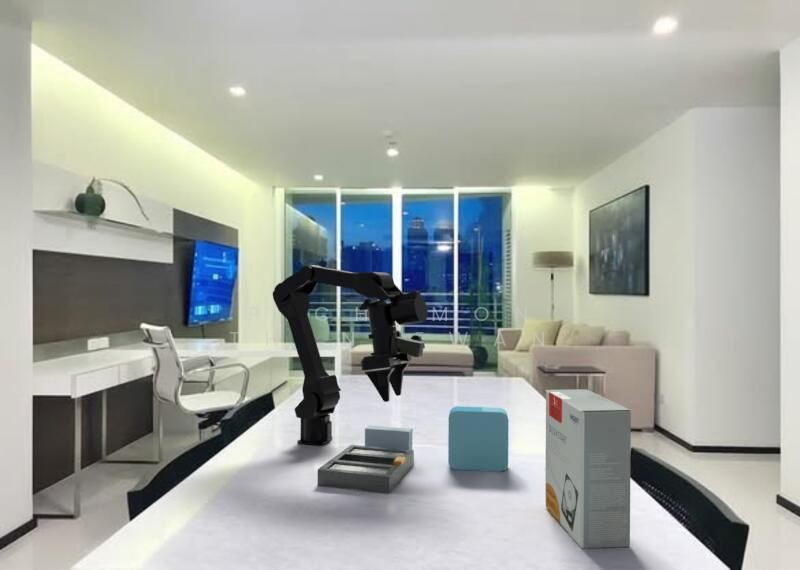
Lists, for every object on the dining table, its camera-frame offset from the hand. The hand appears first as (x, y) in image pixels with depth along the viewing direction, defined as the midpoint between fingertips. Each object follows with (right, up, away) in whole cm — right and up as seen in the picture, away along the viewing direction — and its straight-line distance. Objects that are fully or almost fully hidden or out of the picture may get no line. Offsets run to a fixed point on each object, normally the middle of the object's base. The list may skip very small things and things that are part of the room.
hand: (392, 398), depth 125 cm
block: (-1, -13, 0) cm, 13 cm away
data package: (+18, -13, -8) cm, 23 cm away
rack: (-5, -12, -13) cm, 19 cm away
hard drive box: (+30, -13, -37) cm, 49 cm away
